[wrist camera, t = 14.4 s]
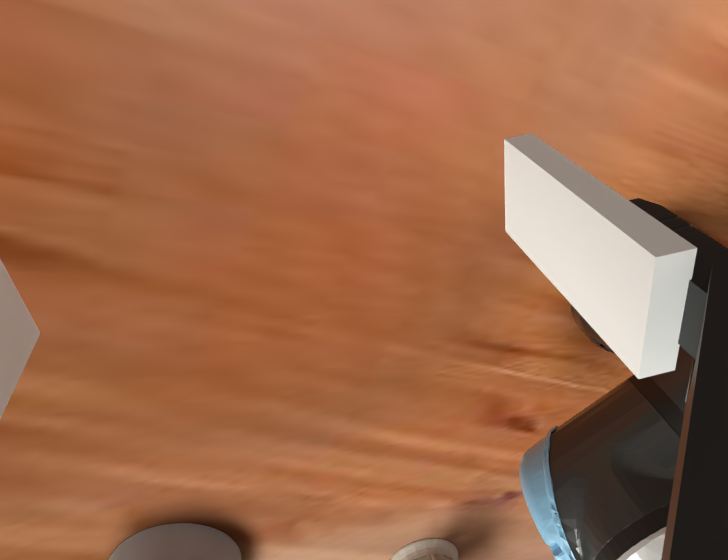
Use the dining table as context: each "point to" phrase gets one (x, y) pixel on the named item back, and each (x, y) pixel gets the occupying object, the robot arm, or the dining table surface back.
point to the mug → (427, 550)
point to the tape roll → (178, 544)
